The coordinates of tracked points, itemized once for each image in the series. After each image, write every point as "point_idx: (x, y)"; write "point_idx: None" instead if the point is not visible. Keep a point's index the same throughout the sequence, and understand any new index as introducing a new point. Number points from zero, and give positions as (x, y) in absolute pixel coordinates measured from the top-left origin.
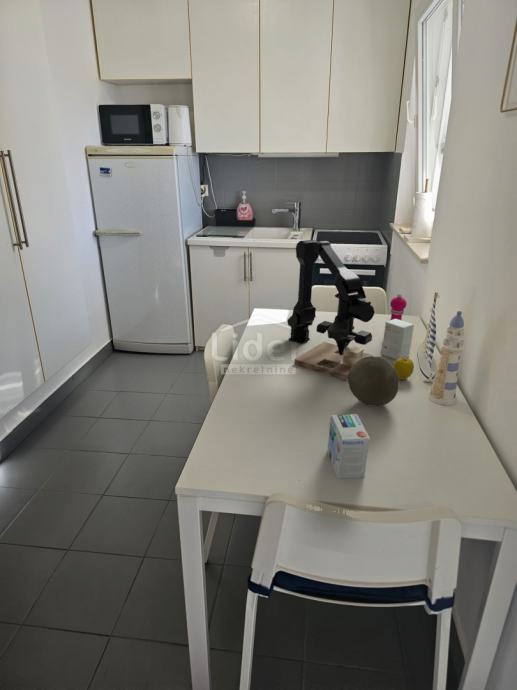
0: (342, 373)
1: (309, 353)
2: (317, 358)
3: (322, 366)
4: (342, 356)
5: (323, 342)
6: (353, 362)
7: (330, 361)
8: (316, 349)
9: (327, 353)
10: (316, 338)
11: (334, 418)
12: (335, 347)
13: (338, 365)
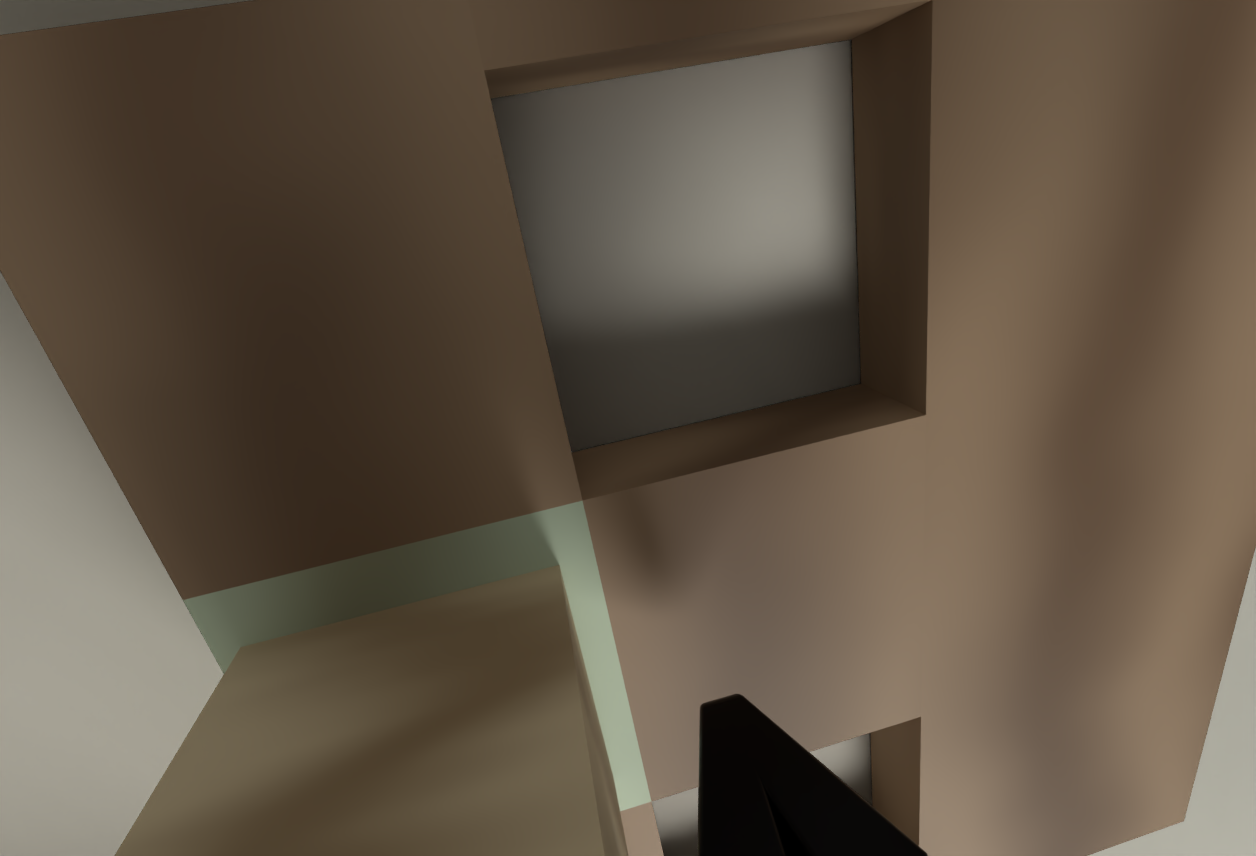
0: (65, 81)
1: (1239, 363)
2: (1036, 309)
3: (743, 23)
4: None
5: (1181, 800)
6: (277, 693)
7: (781, 439)
8: (1189, 577)
9: (985, 616)
10: (1250, 813)
11: None
12: (985, 834)
13: (521, 399)
